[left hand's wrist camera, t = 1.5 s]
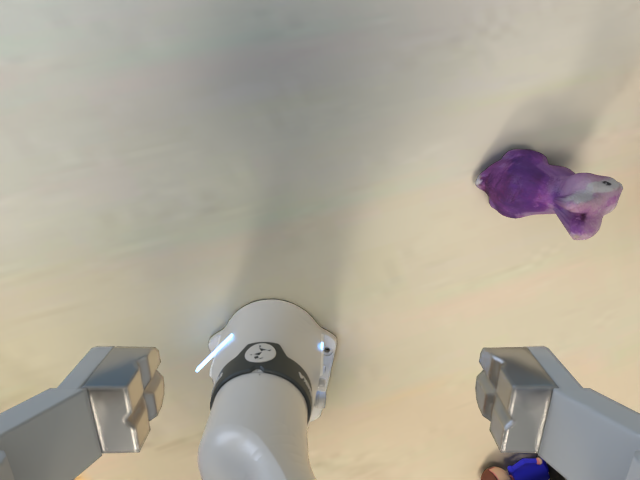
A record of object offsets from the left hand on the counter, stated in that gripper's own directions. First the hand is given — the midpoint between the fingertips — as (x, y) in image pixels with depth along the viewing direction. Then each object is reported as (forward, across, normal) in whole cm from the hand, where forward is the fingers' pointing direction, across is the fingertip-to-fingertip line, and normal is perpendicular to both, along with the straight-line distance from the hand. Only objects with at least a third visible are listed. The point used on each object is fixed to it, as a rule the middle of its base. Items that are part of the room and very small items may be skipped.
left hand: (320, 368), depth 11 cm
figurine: (+44, +26, -4) cm, 51 cm away
